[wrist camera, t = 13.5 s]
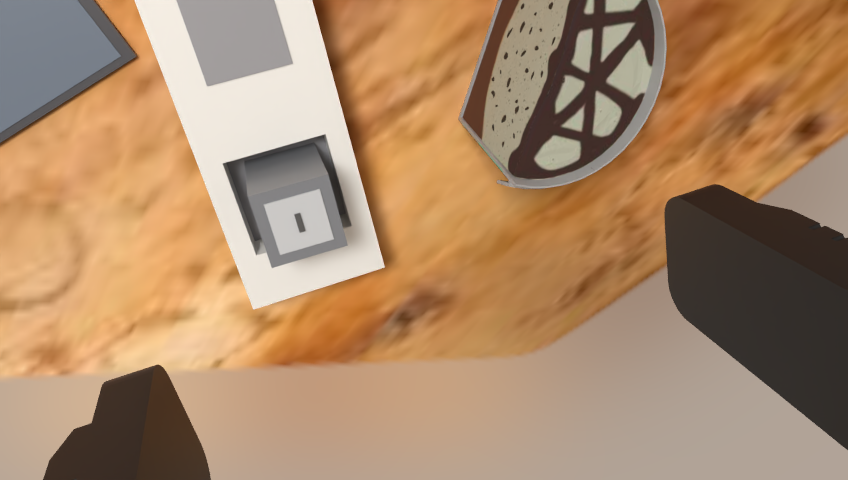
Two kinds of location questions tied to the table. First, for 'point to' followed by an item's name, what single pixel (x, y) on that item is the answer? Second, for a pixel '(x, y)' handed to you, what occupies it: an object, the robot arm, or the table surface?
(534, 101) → the food container
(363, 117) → the table surface
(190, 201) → the table surface
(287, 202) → the block
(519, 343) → the table surface
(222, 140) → the power strip
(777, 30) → the table surface
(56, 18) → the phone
